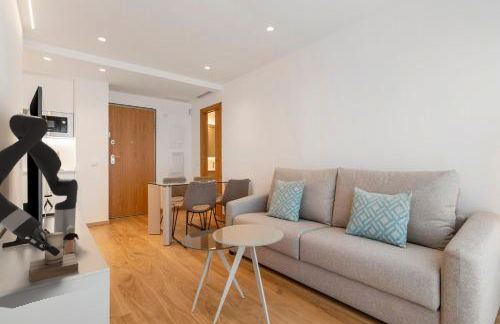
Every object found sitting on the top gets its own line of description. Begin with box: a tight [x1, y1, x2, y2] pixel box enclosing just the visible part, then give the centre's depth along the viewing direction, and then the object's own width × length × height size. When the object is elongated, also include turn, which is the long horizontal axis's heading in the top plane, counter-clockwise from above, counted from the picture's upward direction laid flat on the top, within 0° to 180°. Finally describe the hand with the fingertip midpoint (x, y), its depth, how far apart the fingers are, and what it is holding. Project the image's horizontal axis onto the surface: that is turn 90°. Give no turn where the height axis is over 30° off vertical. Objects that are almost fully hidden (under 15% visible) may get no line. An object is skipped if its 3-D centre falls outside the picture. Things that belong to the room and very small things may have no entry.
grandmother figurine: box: [63, 226, 80, 255], centre depth 115 cm, size 8×4×13 cm, turn 168°
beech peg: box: [44, 232, 64, 265], centre depth 96 cm, size 6×6×13 cm
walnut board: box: [29, 253, 79, 283], centre depth 96 cm, size 14×14×3 cm
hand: (59, 251), depth 97 cm, fingers closed on beech peg, 5 cm apart
